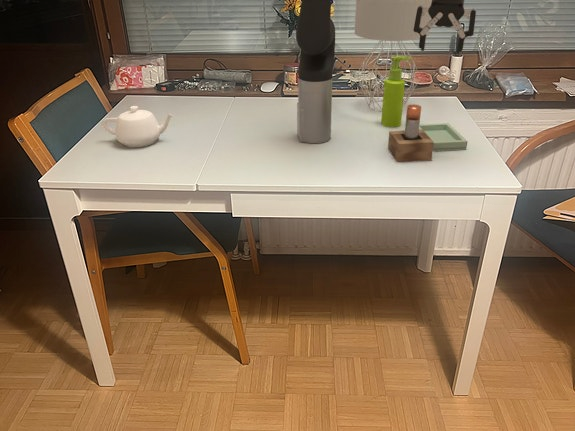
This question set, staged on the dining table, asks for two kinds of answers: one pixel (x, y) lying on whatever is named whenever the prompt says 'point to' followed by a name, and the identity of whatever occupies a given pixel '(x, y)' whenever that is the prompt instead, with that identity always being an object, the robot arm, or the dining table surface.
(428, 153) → the hitch block
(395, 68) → the soap dispenser
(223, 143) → the dining table surface
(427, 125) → the tray
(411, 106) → the grey and copper cylinder
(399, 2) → the table lamp
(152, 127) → the teapot
